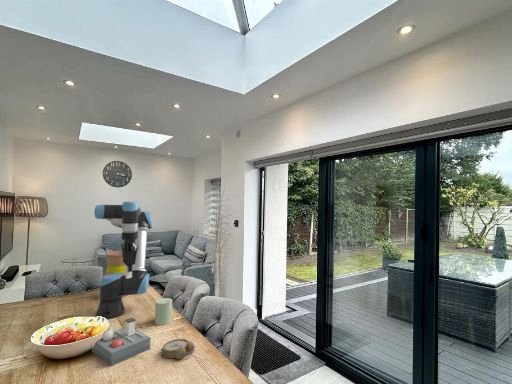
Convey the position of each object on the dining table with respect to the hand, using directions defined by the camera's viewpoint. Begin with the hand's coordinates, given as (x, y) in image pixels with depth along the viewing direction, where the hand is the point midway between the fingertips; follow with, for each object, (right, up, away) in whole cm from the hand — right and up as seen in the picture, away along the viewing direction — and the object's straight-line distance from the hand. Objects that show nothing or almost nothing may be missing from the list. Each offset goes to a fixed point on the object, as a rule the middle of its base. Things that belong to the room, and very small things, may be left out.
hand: (128, 277), depth 140 cm
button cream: (-1, -23, -18) cm, 29 cm away
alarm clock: (+31, -28, -20) cm, 46 cm away
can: (+13, -29, +13) cm, 34 cm away
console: (+4, -27, -17) cm, 32 cm away
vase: (-34, -31, +60) cm, 75 cm away
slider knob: (+7, -22, -14) cm, 27 cm away
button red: (+5, -24, -23) cm, 34 cm away
